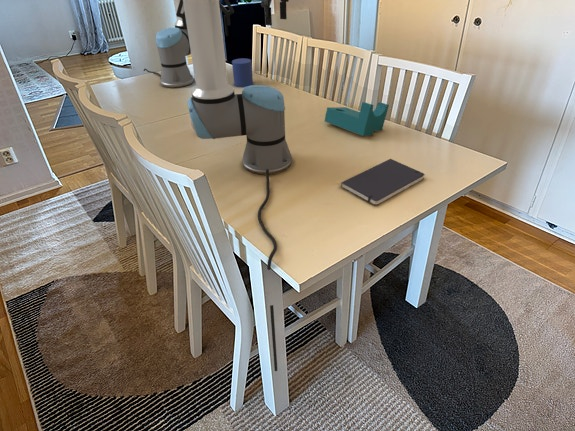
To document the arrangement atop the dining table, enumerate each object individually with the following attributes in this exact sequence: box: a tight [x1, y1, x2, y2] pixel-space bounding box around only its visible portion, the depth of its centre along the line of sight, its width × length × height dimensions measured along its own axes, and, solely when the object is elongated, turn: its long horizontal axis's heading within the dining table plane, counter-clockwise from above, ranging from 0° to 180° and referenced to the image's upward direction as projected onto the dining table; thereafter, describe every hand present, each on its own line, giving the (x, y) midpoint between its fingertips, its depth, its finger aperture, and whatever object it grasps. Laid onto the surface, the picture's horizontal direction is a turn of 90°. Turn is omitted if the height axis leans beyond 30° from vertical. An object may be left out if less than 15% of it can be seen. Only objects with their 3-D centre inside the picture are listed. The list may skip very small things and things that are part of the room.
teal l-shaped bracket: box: [324, 101, 390, 137], centre depth 144 cm, size 18×11×10 cm, turn 43°
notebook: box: [340, 158, 425, 206], centre depth 114 cm, size 13×2×21 cm
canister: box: [231, 57, 254, 88], centre depth 187 cm, size 9×9×11 cm
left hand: (276, 22), depth 169 cm, fingers open, 13 cm apart
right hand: (208, 36), depth 147 cm, fingers open, 13 cm apart
